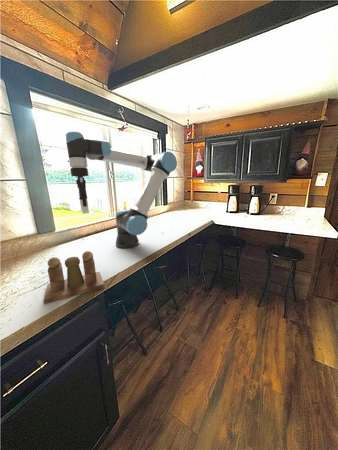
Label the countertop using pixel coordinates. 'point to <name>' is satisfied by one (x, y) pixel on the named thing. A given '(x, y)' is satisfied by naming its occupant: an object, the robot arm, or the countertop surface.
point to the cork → (73, 272)
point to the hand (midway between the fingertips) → (84, 211)
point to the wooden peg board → (57, 283)
